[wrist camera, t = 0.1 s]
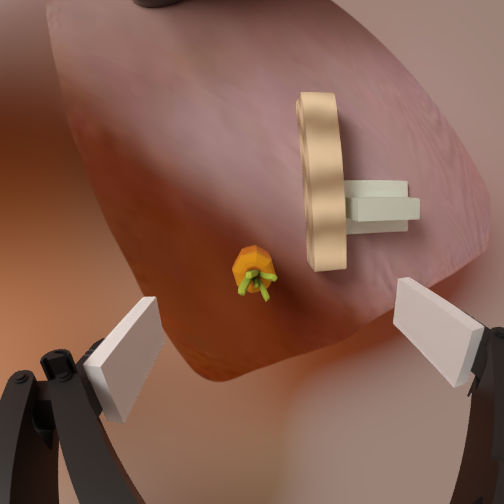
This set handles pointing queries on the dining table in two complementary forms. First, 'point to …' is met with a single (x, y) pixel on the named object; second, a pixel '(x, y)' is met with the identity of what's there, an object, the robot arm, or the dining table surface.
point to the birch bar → (322, 180)
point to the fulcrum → (378, 206)
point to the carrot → (254, 271)
